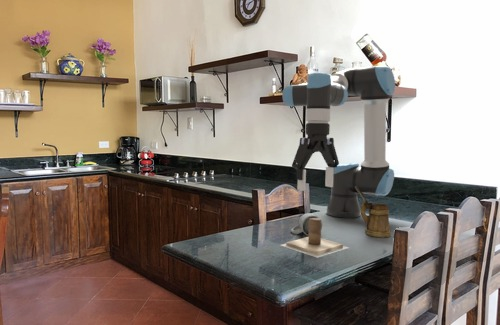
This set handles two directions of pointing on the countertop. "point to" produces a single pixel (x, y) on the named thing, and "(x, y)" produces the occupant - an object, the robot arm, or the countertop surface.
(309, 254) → the mat
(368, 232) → the wooden mug
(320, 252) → the lid
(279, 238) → the countertop surface
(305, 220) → the ceramic mug
